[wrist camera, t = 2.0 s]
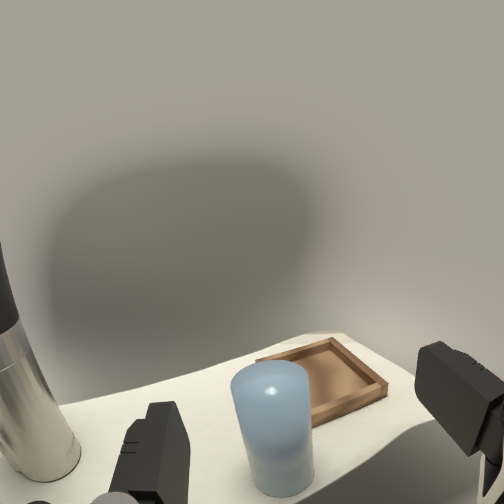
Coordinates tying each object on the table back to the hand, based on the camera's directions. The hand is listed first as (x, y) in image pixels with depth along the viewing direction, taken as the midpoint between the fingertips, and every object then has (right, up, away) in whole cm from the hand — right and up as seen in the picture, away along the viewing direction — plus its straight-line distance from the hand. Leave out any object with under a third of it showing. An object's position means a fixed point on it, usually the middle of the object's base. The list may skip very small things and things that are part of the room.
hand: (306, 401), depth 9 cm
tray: (+7, -12, +29) cm, 32 cm away
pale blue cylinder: (+1, -16, +15) cm, 22 cm away
